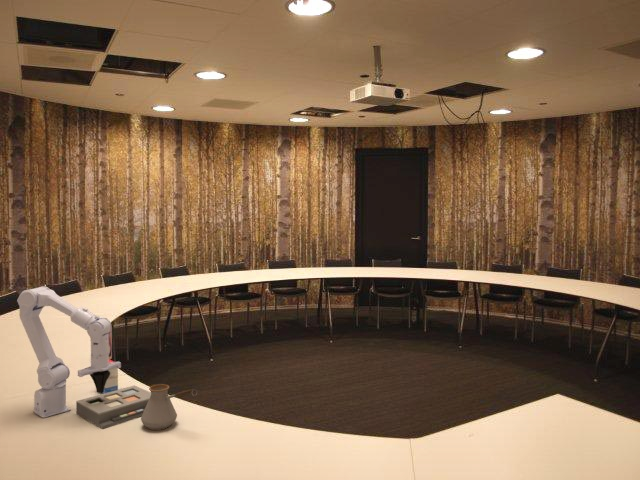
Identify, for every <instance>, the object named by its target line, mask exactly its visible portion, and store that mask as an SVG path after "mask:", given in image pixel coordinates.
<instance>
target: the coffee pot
mask: <svg viewBox="0 0 640 480" xmlns="http://www.w3.org/2000/svg"><path fill="white" fill-rule="evenodd" d="M148 389H149V390H148V391H149V392H151V396H150V398H149V401H148V403H147V405H146V408H145V410H144V412H143V414H142V416H141V417H140V420H141V424H143V425H144V426H145V427H146V428H147V429H149V430H152V431H160V430H161V429H162V430H166V429H168V428H170V427H171V426H172V425H173V423H174V422H175V421H176V420H177V418H178V414H177V412H176V409H175V407H174V405H173V403H172V401H171V399H172V398H175V397H181V396H184V395H187V394H192V396H197V394H198V393H196V394H193V392H198V390H197V389H195V388H192V389H187V390H183V391H180V392H177V393H175V394H172V395H171V394H170V395H169V393H168V391H169V389H170V386H169V385H168V384H163V383H158V384H153V385H151V386H150V387H149V388H148ZM170 425H171V426H170ZM169 426H170V427H169ZM167 427H168V428H167ZM165 428H166V429H165Z"/></svg>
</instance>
